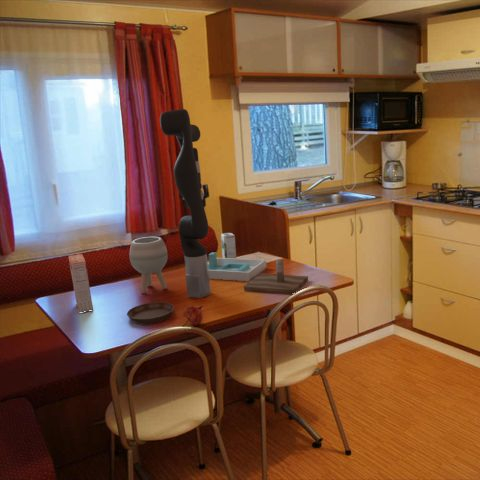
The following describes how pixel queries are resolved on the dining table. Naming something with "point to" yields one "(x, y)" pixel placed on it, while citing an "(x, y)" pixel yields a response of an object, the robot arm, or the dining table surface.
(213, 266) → the teal frame with handle
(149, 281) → the planter
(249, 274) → the tray
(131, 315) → the plant saucer
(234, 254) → the syrup box
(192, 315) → the pomegranate
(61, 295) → the dining table surface
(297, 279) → the stake board
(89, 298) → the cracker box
